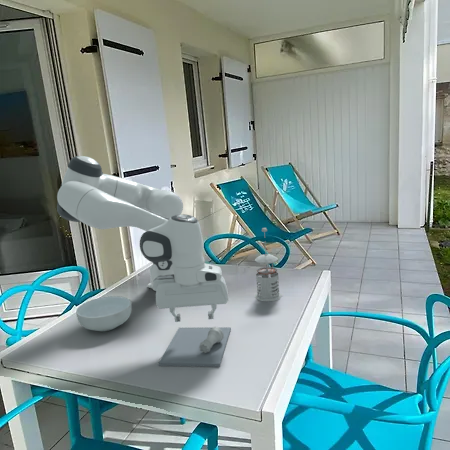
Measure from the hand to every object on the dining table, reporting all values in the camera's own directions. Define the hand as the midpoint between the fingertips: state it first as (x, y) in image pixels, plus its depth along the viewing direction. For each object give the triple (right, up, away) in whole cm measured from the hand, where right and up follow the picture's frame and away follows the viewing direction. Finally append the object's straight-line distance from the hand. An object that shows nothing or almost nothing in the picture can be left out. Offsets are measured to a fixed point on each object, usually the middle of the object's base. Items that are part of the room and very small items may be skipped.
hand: (194, 319), depth 115 cm
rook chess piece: (+7, -3, -1) cm, 8 cm away
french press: (+24, +1, +31) cm, 39 cm away
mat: (+1, -7, -2) cm, 7 cm away
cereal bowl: (-29, -6, +16) cm, 34 cm away
